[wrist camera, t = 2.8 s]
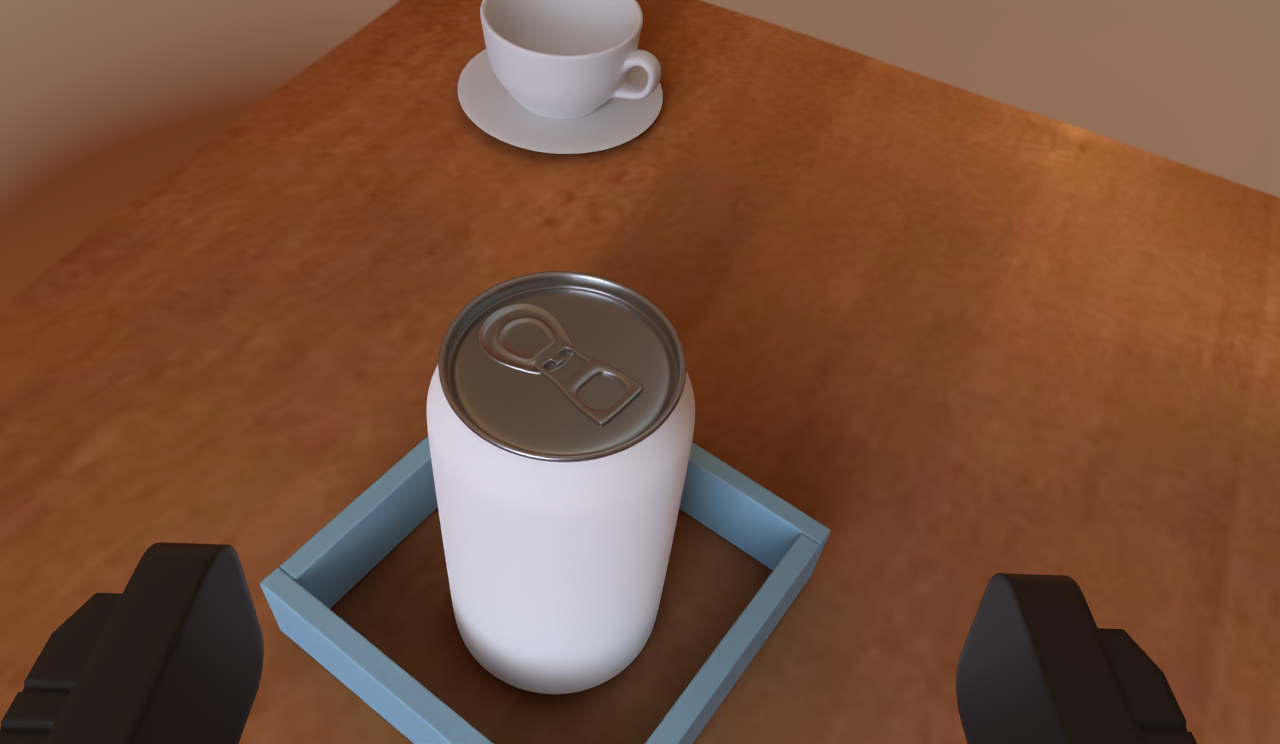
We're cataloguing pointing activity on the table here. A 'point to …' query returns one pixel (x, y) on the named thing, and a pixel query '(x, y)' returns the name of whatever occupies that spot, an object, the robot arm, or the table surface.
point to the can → (559, 474)
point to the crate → (411, 497)
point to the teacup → (562, 75)
